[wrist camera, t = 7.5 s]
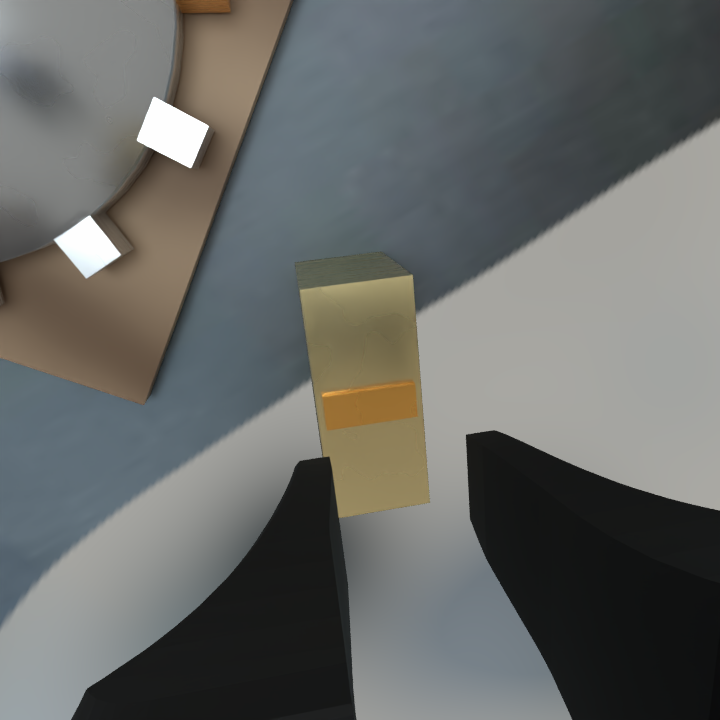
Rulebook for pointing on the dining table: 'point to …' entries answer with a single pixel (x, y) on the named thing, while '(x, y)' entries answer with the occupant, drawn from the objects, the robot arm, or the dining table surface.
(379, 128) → the dining table surface
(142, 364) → the sprocket base
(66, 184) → the sprocket
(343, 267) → the yellow block
